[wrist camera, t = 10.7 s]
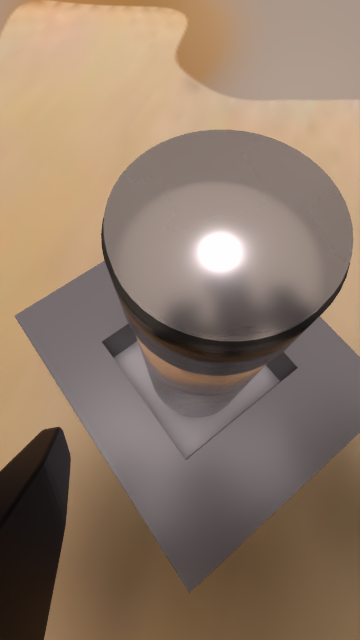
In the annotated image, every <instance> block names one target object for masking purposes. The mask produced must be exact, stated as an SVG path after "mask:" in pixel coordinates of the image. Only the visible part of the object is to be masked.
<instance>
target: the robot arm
mask: <svg viewBox="0 0 360 640" xmlns="http://www.w3.org/2000/svg"><path fill="white" fill-rule="evenodd" d="M70 463H71V459H70V452H69V449H68V446H67V442H66V439H65V436H64V433H63V430H62V429H61V428H60V427H55V428H49V429H44V430H42V431H41V432H40V433H39V434H38V435H37V436H36V437H35V438H34V439H33V440H32V441H31V442H30V443H29V444H28V445H27V446H26V447H25V448H24V449H23V450H22V451H21V452H20V453H19V454H18V455H16V456H15V457H14V458H13V459H12V460H11V461H10V462H9V463H8V464H7V465H6V466H5V467H4V468H3V469H2V470H1V471H0V640H44V636H45V631H46V626H47V620H48V615H49V610H50V605H51V599H52V594H53V589H54V584H55V578H56V573H57V568H58V563H59V557H60V552H61V547H62V542H63V536H64V530H65V524H66V514H67V502H68V489H69V476H70Z"/></svg>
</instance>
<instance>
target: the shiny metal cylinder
mask: <svg viewBox="0 0 360 640" xmlns="http://www.w3.org/2000/svg"><path fill="white" fill-rule="evenodd" d="M101 236H102V250H103V255H104V260H105V263H106V266H107V269H108V271H109V274H110V277H111V279H112V282H113V285H114V287H115V290H116V293H117V295H118V298H119V301H120V304H121V306H122V309H123V312H124V314H125V317H126V320H127V322H128V324H129V325H130V327H131V329H132V331H133V332H134V334H135V335H136V338H137V341H138V344H139V346H140V349H141V352H142V355H143V358H144V361H145V364H146V367H147V370H148V373H149V375H150V378H151V381H152V384H153V387H154V389H155V392H156V393H157V395H158V397H159V398H160V399H161V401H162V402H163V403H164V404H165V405H166V406H167V407H169V408H170V409H171V410H173V411H175V412H177V413H179V414H181V415H185V416H189V417H205V416H209V415H212V414H215V413H217V412H219V411H221V410H222V409H224V408H225V407H226V406H227V405H228V404H229V403H230V402H231V401H232V400H233V399H234V398H235V397H236V396H237V395H238V394H239V393H240V392H241V391H242V390H243V388H244V387H245V386H246V385H247V384H248V383H249V382H250V381H251V380H252V379H253V378H254V377H255V376H256V375H257V374H258V373H259V372H260V371H261V369H262V368H263V367H264V366H265V365H266V364H267V363H269V362H270V361H272V360H274V359H275V358H277V357H278V356H279V355H280V354H282V353H283V352H284V351H285V350H286V349H287V348H288V347H289V346H290V345H291V344H292V343H293V342H294V341H295V340H296V339H297V338H298V337H299V336H300V335H301V334H302V333H303V332H304V331H305V330H306V329H307V328H308V327H309V326H310V325H311V324H312V323H313V322H314V321H315V320H316V319H317V318H318V317H319V316H320V315H321V314H322V313H323V312H324V311H325V310H326V309H327V308H328V307H329V306H330V305H331V303H332V302H333V300H334V299H335V298H336V296H337V295H338V293H339V292H340V290H341V288H342V285H343V283H344V281H345V279H346V276H347V272H348V269H349V265H350V259H351V255H352V248H353V228H352V223H351V218H350V213H349V211H348V208H347V206H346V203H345V200H344V199H343V197H342V195H341V193H340V191H339V190H338V188H337V187H336V185H335V184H334V183H333V181H332V180H331V178H330V177H329V176H328V175H327V174H326V173H325V172H324V171H323V170H322V169H321V168H320V167H319V166H318V165H317V164H316V163H314V162H313V161H312V160H311V159H310V158H308V157H307V156H305V155H304V154H302V153H301V152H299V151H298V150H296V149H294V148H292V147H290V146H288V145H287V144H285V143H282V142H280V141H277V140H275V139H272V138H269V137H266V136H263V135H259V134H255V133H250V132H245V131H236V130H207V131H199V132H193V133H188V134H184V135H181V136H177V137H174V138H172V139H169V140H167V141H164V142H162V143H160V144H158V145H156V146H154V147H153V148H151V149H149V150H148V151H146V152H145V153H143V154H142V155H141V156H139V157H138V158H137V159H136V160H135V161H134V162H133V163H131V164H130V165H129V166H128V167H127V169H126V170H125V171H124V172H123V173H122V175H121V176H120V177H119V179H118V180H117V182H116V184H115V185H114V187H113V189H112V191H111V194H110V196H109V198H108V201H107V205H106V209H105V214H104V218H103V224H102V233H101Z"/></svg>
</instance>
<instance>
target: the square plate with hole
mask: <svg viewBox="0 0 360 640" xmlns="http://www.w3.org/2000/svg"><path fill="white" fill-rule="evenodd" d="M15 318H16V319H17V321H18V322H19V324H20V326H21V327H22V329H23V330H24V332H25V334H26V335H27V337H28V338H29V340H30V341H31V343H32V345H33V346H34V348H35V349H36V351H37V353H38V354H39V356H40V357H41V359H42V360H43V362H44V364H45V365H46V367H47V368H48V370H49V372H50V373H51V375H52V376H53V378H54V379H55V381H56V383H57V384H58V386H59V387H60V389H61V391H62V392H63V394H64V395H65V397H66V398H67V400H68V402H69V403H70V405H71V406H72V408H73V410H74V411H75V413H76V414H77V416H78V417H79V419H80V421H81V422H82V424H83V425H84V427H85V429H86V430H87V432H88V433H89V435H90V436H91V438H92V440H93V441H94V443H95V444H96V446H97V448H98V449H99V451H100V452H101V454H102V455H103V457H104V459H105V460H106V462H107V463H108V465H109V467H110V468H111V470H112V471H113V473H114V474H115V476H116V478H117V479H118V481H119V482H120V484H121V485H122V487H123V489H124V490H125V492H126V493H127V495H128V497H129V498H130V500H131V501H132V503H133V504H134V506H135V508H136V509H137V511H138V512H139V514H140V516H141V517H142V519H143V520H144V522H145V523H146V525H147V527H148V528H149V530H150V531H151V533H152V535H153V536H154V538H155V539H156V541H157V542H158V544H159V546H160V547H161V549H162V550H163V552H164V554H165V555H166V557H167V558H168V560H169V561H170V563H171V565H172V566H173V568H174V569H175V571H176V573H177V574H178V576H179V577H180V579H181V580H182V582H183V584H184V585H185V587H186V588H187V590H188V592H189V593H190V592H191V591H192V590H193V589H194V588H195V587H196V586H197V585H198V584H199V583H200V582H201V581H203V580H204V579H205V578H206V577H207V576H208V575H209V574H210V573H211V572H212V571H213V570H214V569H215V568H216V567H217V566H218V565H219V564H221V563H222V562H223V561H224V560H225V559H226V558H227V557H228V556H229V555H230V554H231V553H232V552H233V551H234V550H235V549H236V548H238V547H239V546H240V545H241V544H242V543H243V542H244V541H245V540H246V539H247V538H248V537H249V536H250V535H251V534H252V533H253V532H254V531H256V530H257V529H258V528H259V527H260V526H261V525H262V524H263V523H264V522H265V521H266V520H267V519H268V518H269V517H270V516H271V515H273V514H274V513H275V512H276V511H277V510H278V509H279V508H280V507H281V506H282V505H283V504H284V503H285V502H286V501H287V500H288V499H290V498H291V497H292V496H293V495H294V494H295V493H296V492H297V491H298V490H299V489H300V488H301V487H302V486H303V485H304V484H305V483H306V482H308V481H309V480H310V479H311V478H312V477H313V476H314V475H315V474H316V473H317V472H318V471H319V470H320V469H321V468H322V467H323V466H325V465H326V464H327V463H328V462H329V461H330V460H331V459H332V458H333V457H334V456H335V455H336V454H337V453H338V452H339V451H340V450H341V449H343V448H344V447H345V446H346V445H347V444H348V443H349V442H350V441H351V440H352V439H353V438H354V437H355V436H356V435H357V434H358V433H360V357H359V356H358V355H357V354H356V353H355V352H354V351H353V350H352V349H351V348H350V347H349V346H348V345H347V344H346V343H345V342H344V341H343V340H342V339H341V338H340V337H339V336H338V335H337V334H336V333H335V331H334V330H333V329H332V328H331V327H330V326H329V325H328V324H327V323H326V322H325V321H324V320H323V319H322V318H321V317H320V316H319V317H318V318H317V319H316V320H315V321H314V322H313V323H312V324H311V325H310V326H309V327H308V328H307V329H306V330H305V331H304V332H303V333H302V334H301V335H300V336H299V337H298V338H297V339H296V340H295V341H294V342H293V343H292V344H291V345H290V346H289V347H288V348H287V349H286V350H285V351H284V352H283V353H282V354H280V355H279V356H278V357H277V358H275V359H274V360H272V361H270V362H269V363H267V364H266V365H265V366H264V367H263V368H262V369H261V371H260V372H259V373H258V374H257V375H256V376H255V377H254V378H253V379H252V380H251V381H250V382H249V383H248V384H247V385H246V386H245V387H244V388H243V390H242V391H241V392H240V393H239V394H238V395H237V396H236V397H235V398H234V399H233V400H232V401H231V402H230V403H229V404H228V405H227V406H226V407H225V408H224V409H222V410H221V411H219V412H217V413H215V414H212V415H209V416H205V417H189V416H185V415H181V414H179V413H177V412H175V411H173V410H171V409H170V408H169V407H167V406H166V405H165V404H164V403H163V402H162V401H161V399H160V398H159V397H158V395H157V393H156V392H155V389H154V387H153V384H152V381H151V378H150V375H149V373H148V370H147V367H146V364H145V361H144V358H143V355H142V352H141V349H140V346H139V344H138V341H137V338H136V335H135V334H134V332H133V331H132V329H131V327H130V325H129V324H128V322H127V320H126V317H125V314H124V312H123V309H122V306H121V304H120V301H119V298H118V295H117V293H116V290H115V287H114V285H113V282H112V279H111V277H110V274H109V271H108V269H107V266H106V263H105V261H103V262H102V263H100V264H98V265H97V266H95V267H94V268H92V269H90V270H89V271H87V272H85V273H84V274H82V275H80V276H79V277H77V278H76V279H74V280H72V281H71V282H69V283H67V284H66V285H64V286H63V287H61V288H59V289H58V290H56V291H54V292H53V293H51V294H49V295H48V296H46V297H45V298H43V299H41V300H40V301H38V302H36V303H35V304H33V305H32V306H30V307H28V308H27V309H25V310H23V311H22V312H20V313H18V314H17V315H15Z"/></svg>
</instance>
